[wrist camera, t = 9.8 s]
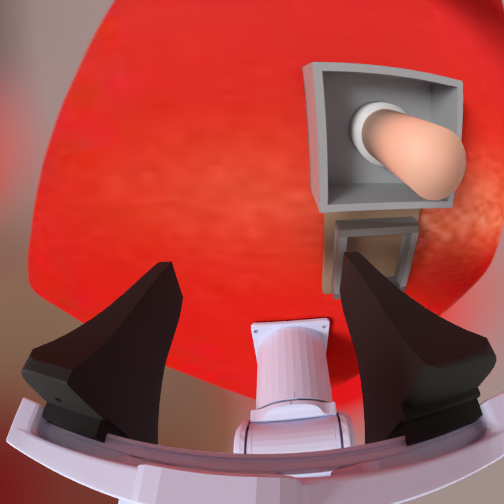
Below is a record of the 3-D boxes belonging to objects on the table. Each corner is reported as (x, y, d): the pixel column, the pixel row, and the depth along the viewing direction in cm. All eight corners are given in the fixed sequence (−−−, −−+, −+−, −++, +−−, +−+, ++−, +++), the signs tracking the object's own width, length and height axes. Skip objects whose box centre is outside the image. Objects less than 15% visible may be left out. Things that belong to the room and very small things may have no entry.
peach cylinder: (405, 103, 15) (475, 124, 9) (403, 160, 18) (464, 207, 11) (347, 99, 16) (400, 113, 9) (349, 160, 18) (394, 208, 12)
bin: (427, 186, 19) (452, 207, 16) (310, 189, 20) (319, 212, 17) (431, 77, 14) (462, 81, 11) (302, 66, 15) (311, 62, 12)
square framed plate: (400, 279, 24) (409, 296, 22) (321, 286, 25) (325, 305, 23) (415, 203, 20) (428, 217, 18) (323, 206, 21) (330, 222, 19)
